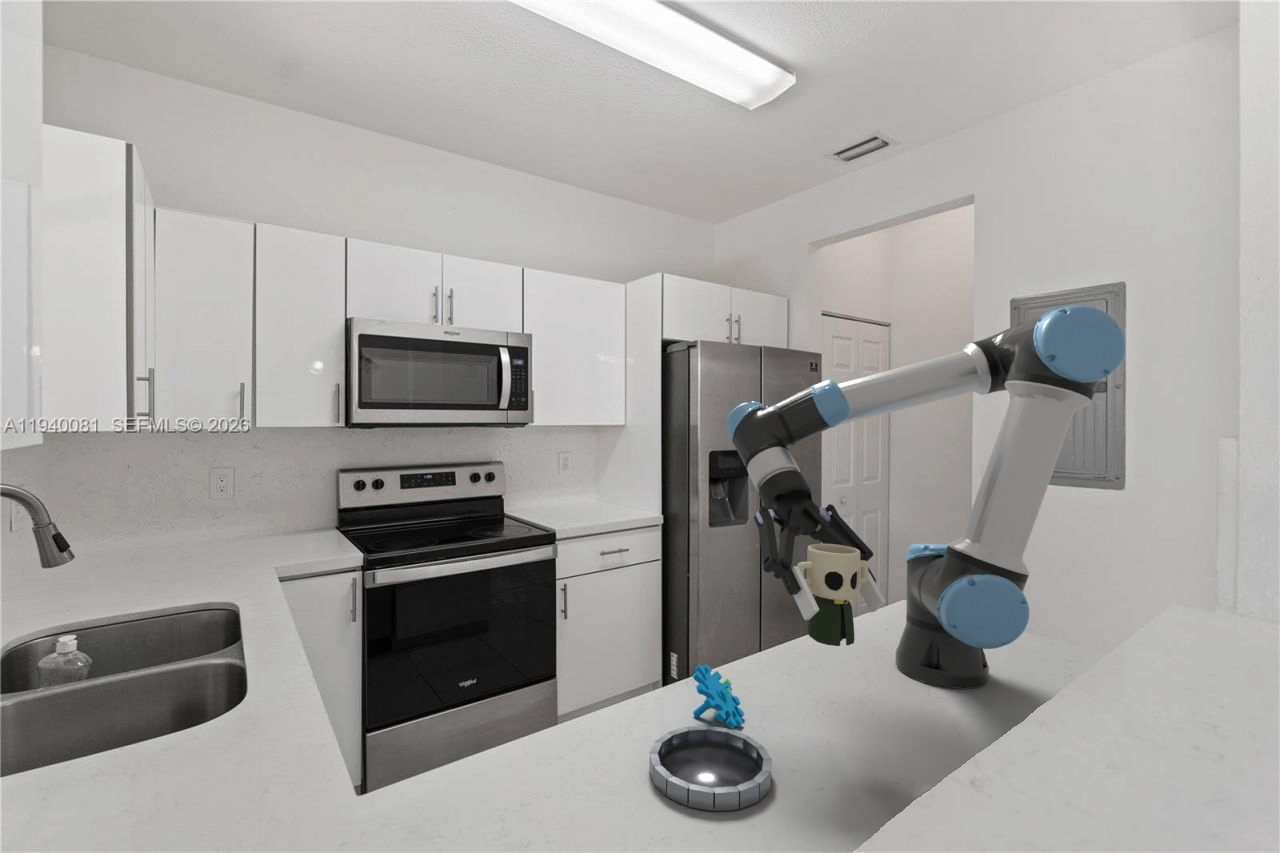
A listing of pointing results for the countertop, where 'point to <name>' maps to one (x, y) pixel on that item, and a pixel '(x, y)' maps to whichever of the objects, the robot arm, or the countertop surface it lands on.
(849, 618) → the character mug
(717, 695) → the gear
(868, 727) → the countertop surface
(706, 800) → the grey round tray
